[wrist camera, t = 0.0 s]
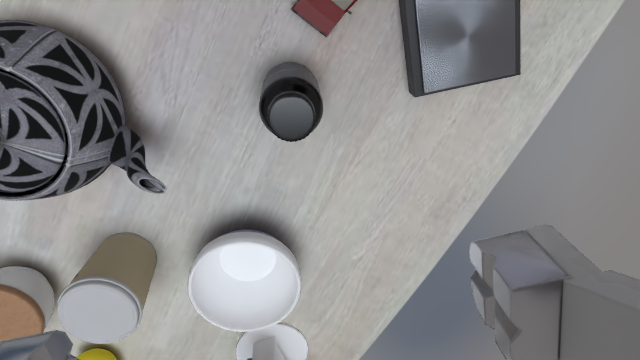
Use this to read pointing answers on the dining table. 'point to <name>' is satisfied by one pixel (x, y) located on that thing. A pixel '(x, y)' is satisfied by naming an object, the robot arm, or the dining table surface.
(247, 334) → the white device on stand
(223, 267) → the bowl
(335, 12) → the toy truck
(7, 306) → the trinket box
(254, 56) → the dining table surface
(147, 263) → the coffee cup
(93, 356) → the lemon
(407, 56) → the scale
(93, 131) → the teapot
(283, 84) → the supplement bottle
